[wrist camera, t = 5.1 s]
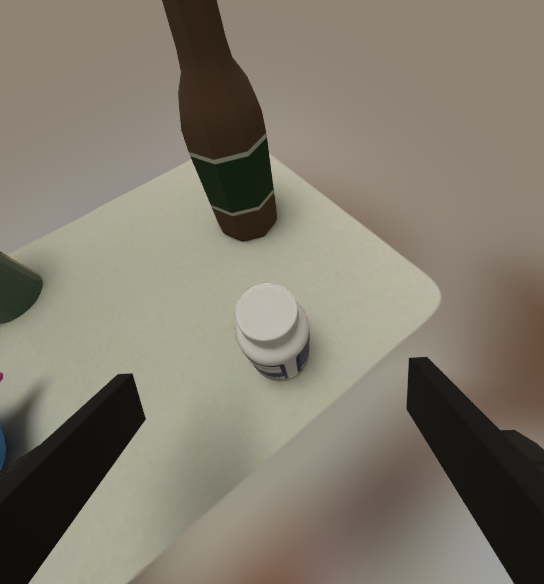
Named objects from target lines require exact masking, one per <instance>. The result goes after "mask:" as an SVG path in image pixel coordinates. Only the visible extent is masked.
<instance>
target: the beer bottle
mask: <svg viewBox="0 0 544 584" xmlns="http://www.w3.org/2000/svg"><path fill="white" fill-rule="evenodd" d="M162 1H163V5H164V8H165V12H166V15H167V19H168V22H169V26H170V29H171V32H172V36H173V39H174V42H175V46H176V50H177V54H178V60H179V64H180V69H181V76H180V84H179V91H178V97H179V110H180V121H181V131H182V133H183V137H184V140H185V143H186V145H187V149H188V151H189V154H190V156H191V159H192V161H193V164H194V166H195V168H196V171H197V173H198V176H199V178H200V180H201V183H202V185H203V188H204V190H205V192H206V195H207V197H208V200H209V202H210V204H211V207H212V209H213V212H214V214H215V216H216V219H217V221H218V223H219V225H220V227H221V229H222V231H223V232H224V233H225V234H227V235H230V236H232V237H234V238H236V239H238V240H241V241H245V240H249V239H253V238H257V237H261V236H264V235H265V234H266V232H267V231H268V230H269V229H270V227H271V226H272V225H273V224H274V222H275V221H276V219H277V215H276V204H275V196H274V188H273V181H272V173H271V165H270V158H269V151H268V142H267V135H266V129H265V124H264V119H263V114H262V110H261V108H260V105H259V102H258V100H257V98H256V95H255V93H254V91H253V88H252V86H251V84H250V82H249V80H248V77H247V76H246V74H245V73H244V72H243V70H242V69H241V68H240V66H239V65H238V64H237V63H236V61H235V60H234V59H233V57H232V55H231V52H230V49H229V46H228V43H227V40H226V37H225V33H224V29H223V24H222V20H221V16H220V12H219V8H218V4H217V0H162Z"/></svg>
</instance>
